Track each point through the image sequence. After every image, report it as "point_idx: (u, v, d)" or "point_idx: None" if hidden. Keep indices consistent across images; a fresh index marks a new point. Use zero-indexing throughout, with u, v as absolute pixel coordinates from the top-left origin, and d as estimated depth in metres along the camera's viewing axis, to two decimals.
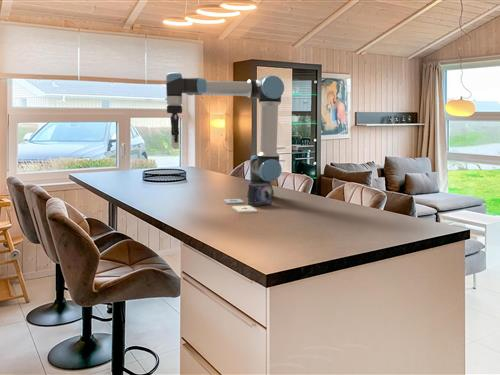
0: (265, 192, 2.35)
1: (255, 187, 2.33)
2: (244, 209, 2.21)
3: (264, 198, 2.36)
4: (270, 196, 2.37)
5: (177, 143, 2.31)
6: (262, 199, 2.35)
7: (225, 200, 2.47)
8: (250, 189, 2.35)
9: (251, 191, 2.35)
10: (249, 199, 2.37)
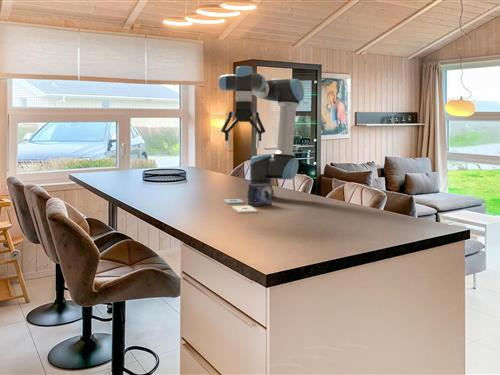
0: (265, 193, 2.35)
1: (255, 187, 2.33)
2: (244, 209, 2.21)
3: (264, 198, 2.36)
4: (270, 196, 2.37)
5: (228, 142, 2.16)
6: (262, 199, 2.35)
7: (225, 200, 2.47)
8: (250, 189, 2.35)
9: (251, 191, 2.35)
10: (249, 199, 2.37)
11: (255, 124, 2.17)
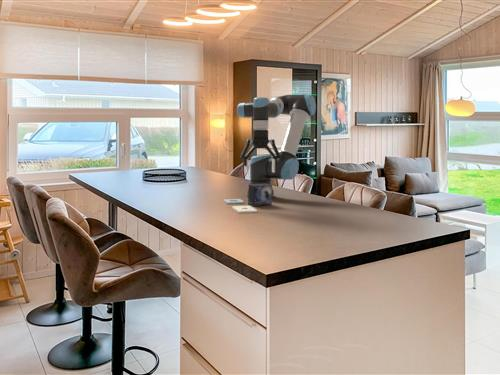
0: (265, 193, 2.35)
1: (255, 187, 2.33)
2: (244, 209, 2.21)
3: (264, 198, 2.36)
4: (270, 196, 2.37)
5: (246, 167, 2.33)
6: (262, 199, 2.35)
7: (225, 200, 2.47)
8: (250, 189, 2.35)
9: (251, 191, 2.35)
10: (249, 199, 2.37)
11: None
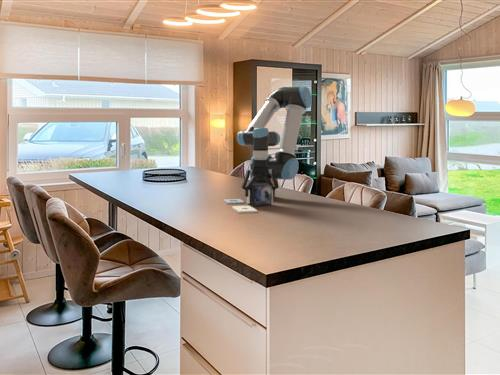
0: (265, 192, 2.35)
1: (255, 187, 2.33)
2: (244, 209, 2.21)
3: (264, 198, 2.35)
4: (270, 196, 2.37)
5: (248, 197, 2.36)
6: (261, 199, 2.35)
7: (225, 200, 2.47)
8: (250, 189, 2.35)
9: (251, 191, 2.35)
10: None
11: (270, 180, 2.37)
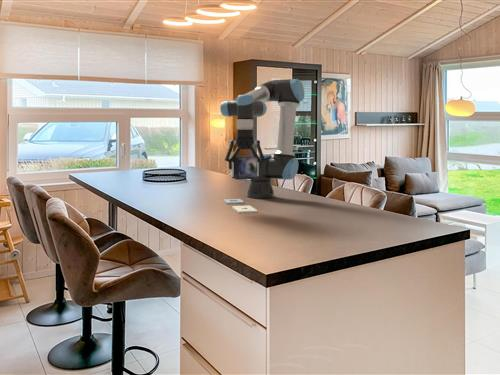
0: (249, 165, 2.19)
1: (239, 158, 2.16)
2: (244, 209, 2.21)
3: (249, 171, 2.19)
4: (255, 169, 2.21)
5: (231, 170, 2.20)
6: (246, 172, 2.19)
7: (225, 200, 2.47)
8: (234, 161, 2.19)
9: (234, 163, 2.19)
10: None
11: (255, 152, 2.21)
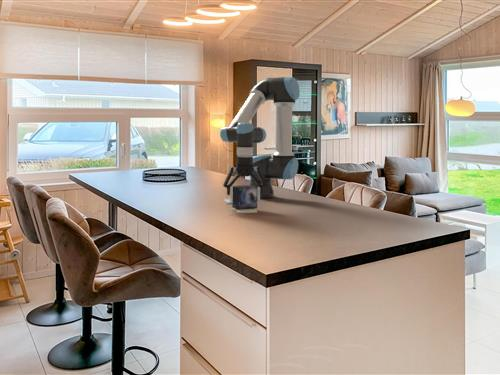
0: (249, 195, 2.21)
1: (239, 189, 2.18)
2: (244, 209, 2.21)
3: (249, 201, 2.21)
4: (255, 198, 2.23)
5: (229, 196, 2.21)
6: (246, 202, 2.21)
7: (225, 200, 2.47)
8: (234, 191, 2.21)
9: (235, 193, 2.21)
10: (233, 202, 2.23)
11: (256, 178, 2.22)
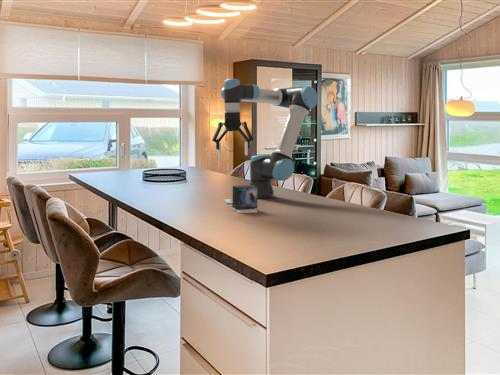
0: (250, 195, 2.21)
1: (239, 189, 2.18)
2: (244, 209, 2.21)
3: (249, 201, 2.21)
4: (255, 198, 2.23)
5: (219, 150, 2.31)
6: (246, 202, 2.21)
7: (225, 200, 2.47)
8: (234, 191, 2.21)
9: (235, 193, 2.21)
10: (233, 202, 2.23)
11: None
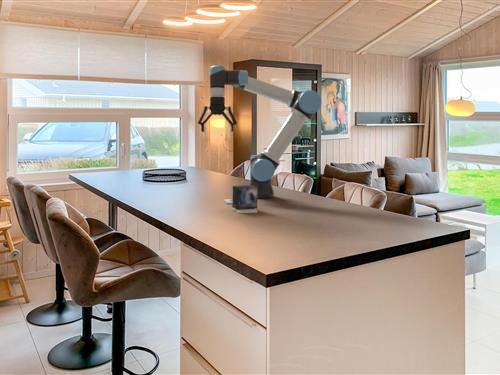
0: (250, 195, 2.21)
1: (239, 189, 2.18)
2: (244, 209, 2.21)
3: (249, 201, 2.21)
4: (255, 198, 2.23)
5: (203, 132, 2.45)
6: (246, 202, 2.21)
7: (225, 200, 2.47)
8: (234, 191, 2.21)
9: (235, 193, 2.21)
10: (233, 202, 2.23)
11: None
